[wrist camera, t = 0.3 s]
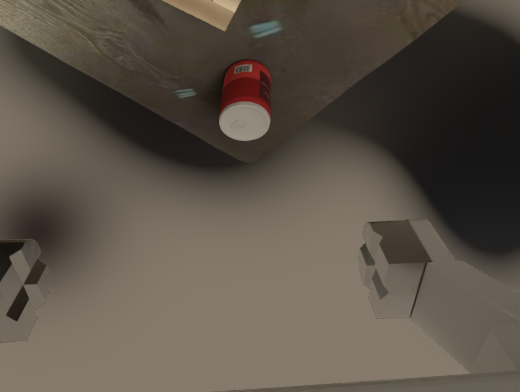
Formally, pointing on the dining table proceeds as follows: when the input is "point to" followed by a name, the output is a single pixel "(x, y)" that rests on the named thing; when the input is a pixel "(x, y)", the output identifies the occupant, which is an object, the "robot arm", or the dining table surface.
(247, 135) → the canned food
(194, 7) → the frame
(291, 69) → the dining table surface
